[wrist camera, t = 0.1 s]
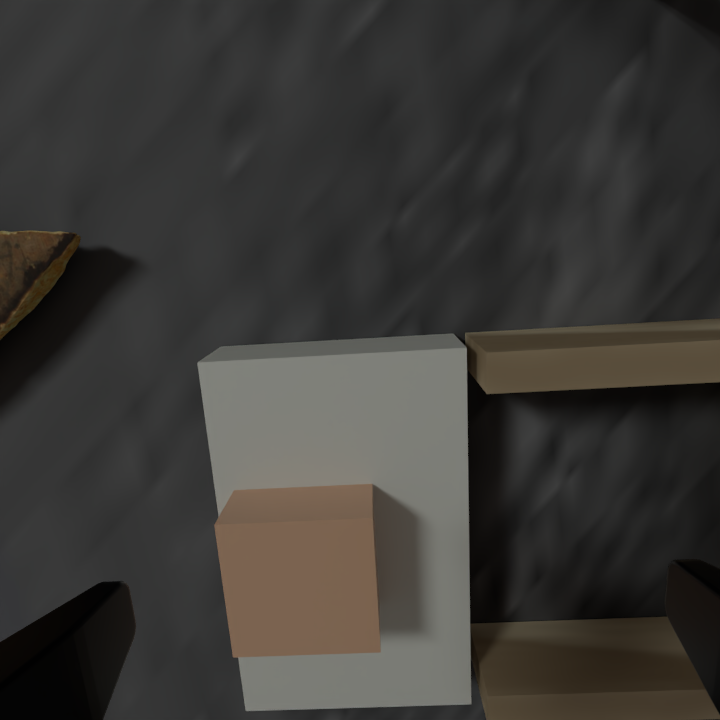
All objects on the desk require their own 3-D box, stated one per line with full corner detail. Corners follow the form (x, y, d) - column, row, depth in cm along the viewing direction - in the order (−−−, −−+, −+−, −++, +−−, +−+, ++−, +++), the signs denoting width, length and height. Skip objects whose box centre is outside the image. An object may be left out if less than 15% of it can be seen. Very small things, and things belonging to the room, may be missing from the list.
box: (747, 639, 24) (820, 716, 20) (469, 649, 25) (487, 725, 21) (791, 314, 20) (890, 330, 17) (465, 332, 21) (486, 352, 17)
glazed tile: (379, 604, 21) (380, 652, 18) (249, 609, 21) (233, 657, 18) (372, 483, 19) (372, 518, 17) (233, 490, 20) (214, 524, 17)
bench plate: (459, 649, 25) (471, 704, 22) (260, 656, 25) (245, 711, 22) (453, 333, 21) (466, 347, 18) (221, 346, 21) (197, 362, 18)
